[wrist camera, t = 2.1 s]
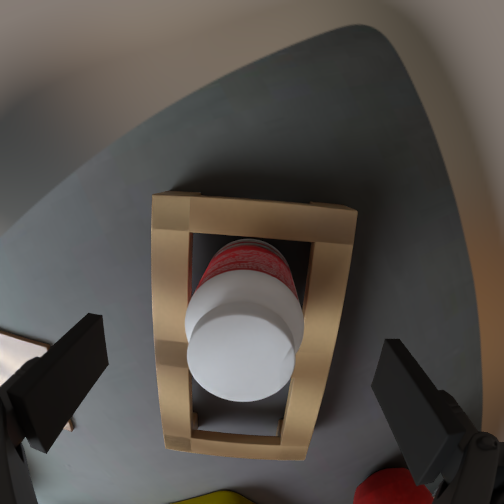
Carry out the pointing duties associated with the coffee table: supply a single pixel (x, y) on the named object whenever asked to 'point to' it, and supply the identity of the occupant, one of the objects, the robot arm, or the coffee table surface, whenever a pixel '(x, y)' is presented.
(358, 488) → the apple
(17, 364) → the brown flat square
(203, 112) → the coffee table surface
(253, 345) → the pill bottle
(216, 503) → the element tile
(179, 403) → the bottle rack
